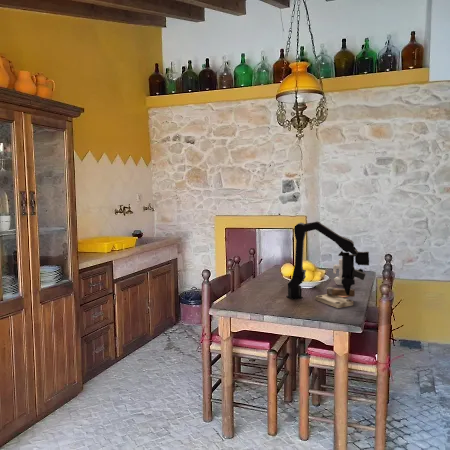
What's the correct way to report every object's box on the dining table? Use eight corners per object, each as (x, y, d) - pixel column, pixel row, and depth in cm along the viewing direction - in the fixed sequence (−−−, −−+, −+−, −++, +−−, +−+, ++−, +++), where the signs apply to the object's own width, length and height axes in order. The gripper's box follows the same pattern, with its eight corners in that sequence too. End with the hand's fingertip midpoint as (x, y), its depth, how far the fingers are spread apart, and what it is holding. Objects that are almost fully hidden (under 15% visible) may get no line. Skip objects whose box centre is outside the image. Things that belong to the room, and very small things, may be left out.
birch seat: (337, 308, 211) (337, 303, 211) (315, 299, 226) (315, 295, 226) (353, 305, 215) (353, 300, 215) (331, 297, 231) (331, 293, 230)
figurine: (334, 282, 263) (334, 257, 261) (350, 283, 259) (350, 258, 257) (331, 285, 256) (331, 259, 255) (348, 286, 252) (348, 260, 251)
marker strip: (336, 298, 227) (336, 298, 227) (331, 297, 231) (331, 296, 231) (352, 296, 232) (352, 295, 232) (347, 294, 235) (347, 293, 235)
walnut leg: (326, 294, 227) (326, 288, 226) (327, 293, 230) (327, 287, 230) (354, 296, 222) (354, 290, 221) (354, 295, 225) (354, 288, 225)
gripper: (365, 268, 210) (365, 300, 211) (363, 262, 228) (363, 291, 229) (341, 267, 213) (341, 299, 214) (341, 261, 231) (341, 290, 232)
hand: (347, 295), depth 222 cm, fingers closed
